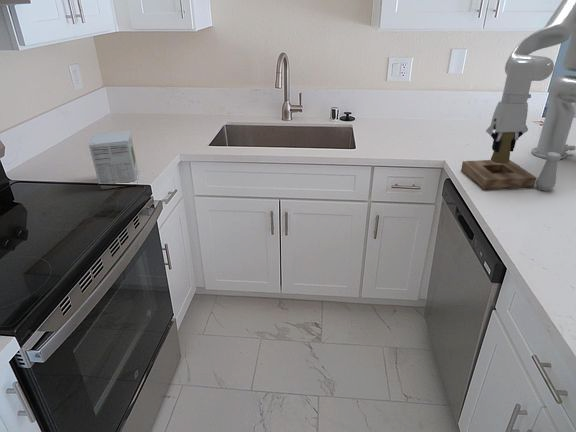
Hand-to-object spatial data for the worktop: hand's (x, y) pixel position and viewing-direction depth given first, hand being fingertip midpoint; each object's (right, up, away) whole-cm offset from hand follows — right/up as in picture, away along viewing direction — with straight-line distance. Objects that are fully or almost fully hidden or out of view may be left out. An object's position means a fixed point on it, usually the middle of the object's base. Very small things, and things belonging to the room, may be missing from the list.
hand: (502, 150), depth 147 cm
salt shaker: (+13, -14, -3) cm, 19 cm away
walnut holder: (0, -10, +5) cm, 11 cm away
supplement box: (-139, -10, +11) cm, 140 cm away
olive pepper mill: (0, -4, +2) cm, 4 cm away
